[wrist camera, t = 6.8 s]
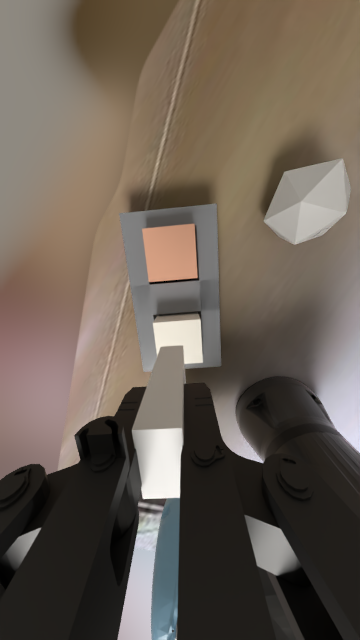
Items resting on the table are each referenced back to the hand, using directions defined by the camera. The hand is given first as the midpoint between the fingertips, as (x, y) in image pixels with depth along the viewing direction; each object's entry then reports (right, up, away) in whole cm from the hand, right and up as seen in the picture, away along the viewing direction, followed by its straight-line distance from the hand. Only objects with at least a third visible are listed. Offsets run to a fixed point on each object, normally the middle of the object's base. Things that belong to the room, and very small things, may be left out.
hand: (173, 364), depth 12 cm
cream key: (0, +1, +16) cm, 16 cm away
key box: (0, +7, +17) cm, 18 cm away
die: (+16, +18, +14) cm, 28 cm away
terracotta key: (-1, +12, +14) cm, 18 cm away
